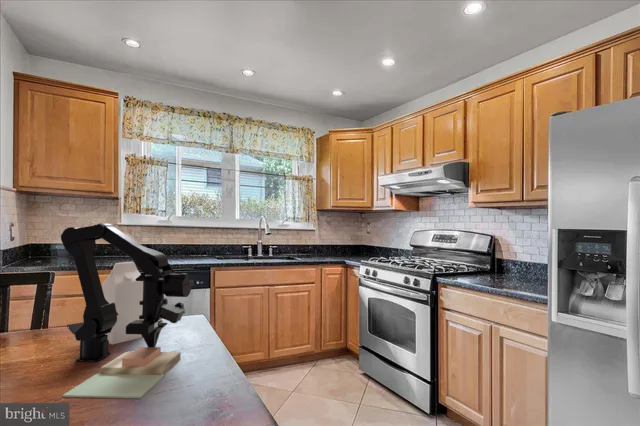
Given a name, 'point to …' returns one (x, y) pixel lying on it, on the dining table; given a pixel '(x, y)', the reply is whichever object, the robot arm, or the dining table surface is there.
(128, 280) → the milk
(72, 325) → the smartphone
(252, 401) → the dining table surface
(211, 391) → the dining table surface
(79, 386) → the mat
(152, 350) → the tile
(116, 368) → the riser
